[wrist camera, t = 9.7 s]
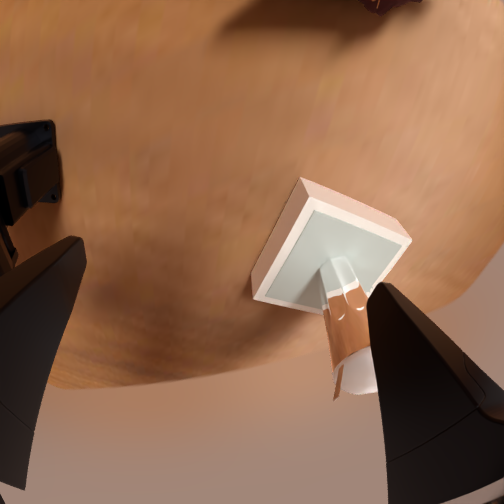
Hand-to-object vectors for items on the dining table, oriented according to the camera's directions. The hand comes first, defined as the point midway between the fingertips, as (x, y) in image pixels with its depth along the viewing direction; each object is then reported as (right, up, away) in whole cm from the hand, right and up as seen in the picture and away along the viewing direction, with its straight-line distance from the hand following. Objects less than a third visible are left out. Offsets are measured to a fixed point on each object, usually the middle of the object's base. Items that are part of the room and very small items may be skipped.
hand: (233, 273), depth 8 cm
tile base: (+6, +1, +15) cm, 16 cm away
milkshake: (+6, -1, +12) cm, 14 cm away
